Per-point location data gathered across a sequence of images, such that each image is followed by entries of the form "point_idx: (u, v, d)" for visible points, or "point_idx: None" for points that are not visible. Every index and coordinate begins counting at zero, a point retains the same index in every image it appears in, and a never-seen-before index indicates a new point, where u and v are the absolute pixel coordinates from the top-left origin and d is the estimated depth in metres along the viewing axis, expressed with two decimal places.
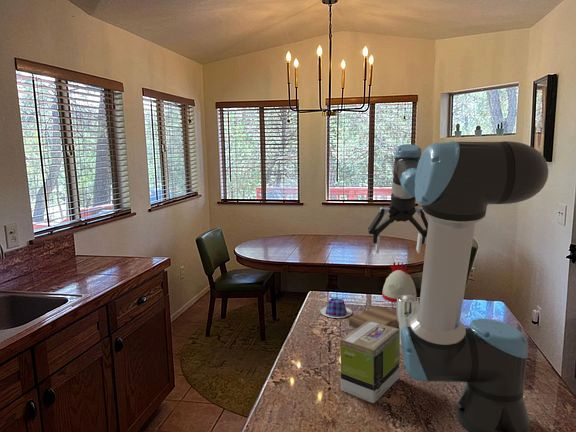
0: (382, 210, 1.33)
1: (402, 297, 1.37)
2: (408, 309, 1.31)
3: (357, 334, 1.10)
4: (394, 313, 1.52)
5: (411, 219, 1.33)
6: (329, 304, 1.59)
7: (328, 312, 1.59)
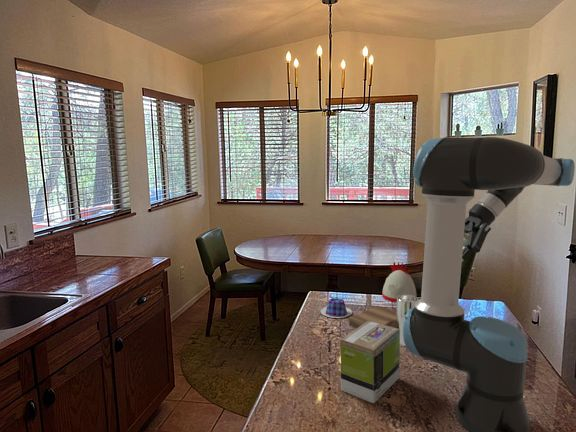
0: None
1: (402, 297, 1.37)
2: (408, 309, 1.31)
3: (357, 334, 1.10)
4: (394, 313, 1.52)
5: (470, 227, 1.31)
6: (329, 304, 1.59)
7: (328, 312, 1.59)
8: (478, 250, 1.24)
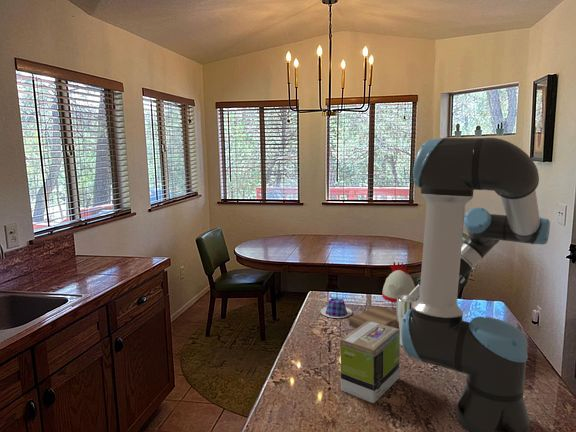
0: None
1: (402, 297, 1.37)
2: (408, 309, 1.31)
3: (357, 334, 1.10)
4: (394, 313, 1.52)
5: None
6: (329, 304, 1.59)
7: (328, 312, 1.59)
8: None
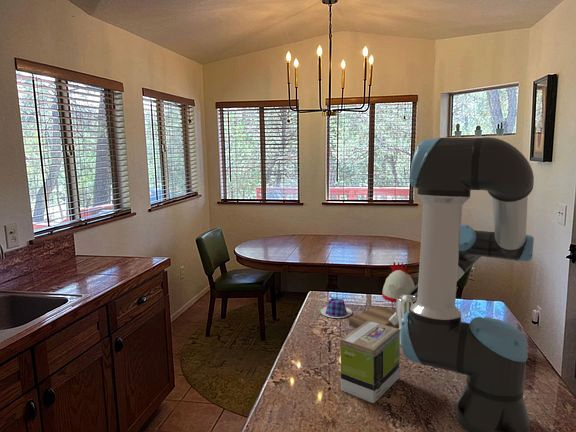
0: None
1: (402, 297, 1.37)
2: (408, 308, 1.31)
3: (357, 334, 1.10)
4: None
5: None
6: (329, 304, 1.59)
7: (328, 312, 1.59)
8: None
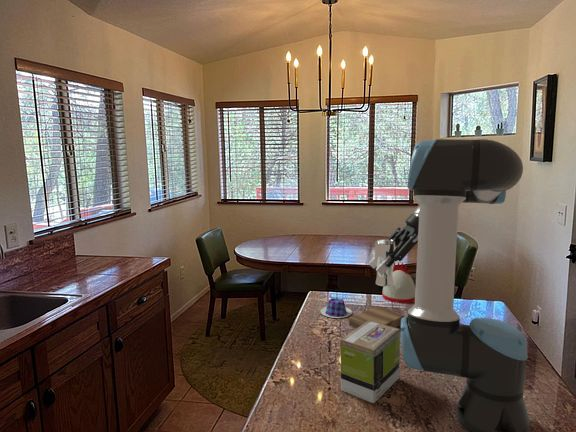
0: (398, 228, 1.50)
1: (380, 242, 1.46)
2: (385, 250, 1.41)
3: (357, 334, 1.10)
4: (394, 313, 1.52)
5: (403, 237, 1.42)
6: (328, 304, 1.60)
7: (327, 312, 1.60)
8: (400, 259, 1.38)
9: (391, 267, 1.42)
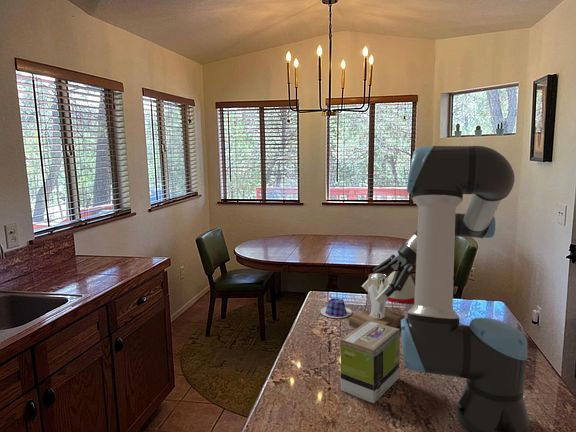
0: (392, 255, 1.54)
1: (373, 275, 1.50)
2: (378, 285, 1.44)
3: (357, 334, 1.10)
4: (394, 313, 1.52)
5: (397, 267, 1.45)
6: (328, 303, 1.60)
7: (327, 311, 1.60)
8: (400, 289, 1.38)
9: (384, 301, 1.46)
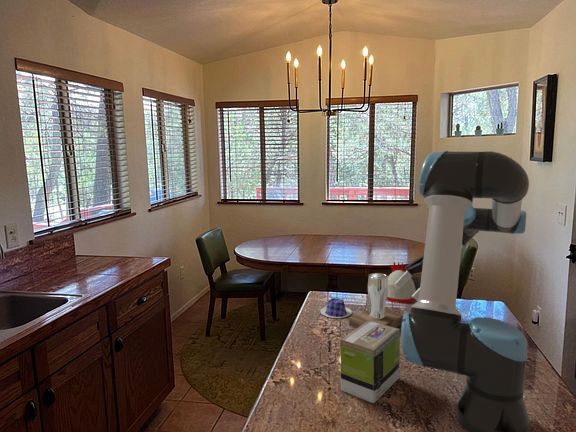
0: None
1: (373, 275, 1.50)
2: (378, 285, 1.44)
3: (357, 334, 1.10)
4: (394, 313, 1.52)
5: None
6: (328, 303, 1.60)
7: (327, 311, 1.60)
8: None
9: (384, 301, 1.46)
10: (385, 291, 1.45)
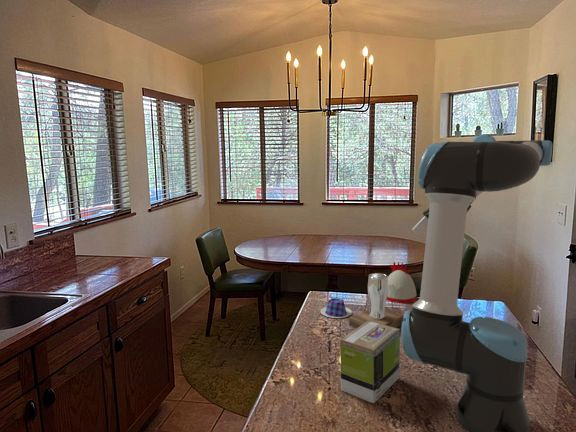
0: None
1: (373, 275, 1.50)
2: (378, 285, 1.44)
3: (357, 334, 1.10)
4: (394, 313, 1.52)
5: None
6: (328, 303, 1.60)
7: (326, 311, 1.60)
8: None
9: (384, 301, 1.46)
10: (385, 291, 1.45)
